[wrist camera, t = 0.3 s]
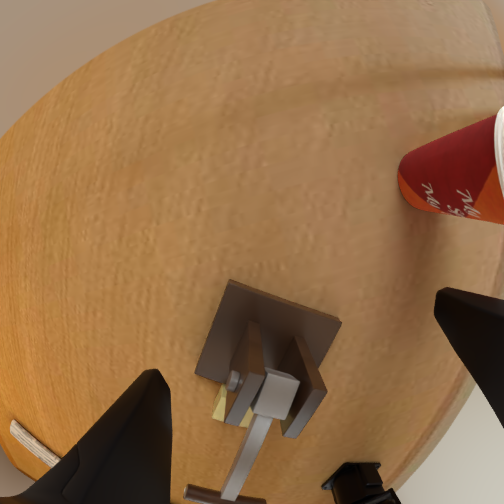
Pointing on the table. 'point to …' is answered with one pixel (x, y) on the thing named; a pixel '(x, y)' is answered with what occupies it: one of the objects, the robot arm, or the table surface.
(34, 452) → the newspaper
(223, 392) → the butter
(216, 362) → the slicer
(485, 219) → the paper cup
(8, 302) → the table surface
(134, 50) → the table surface
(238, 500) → the lever handle
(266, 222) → the table surface
